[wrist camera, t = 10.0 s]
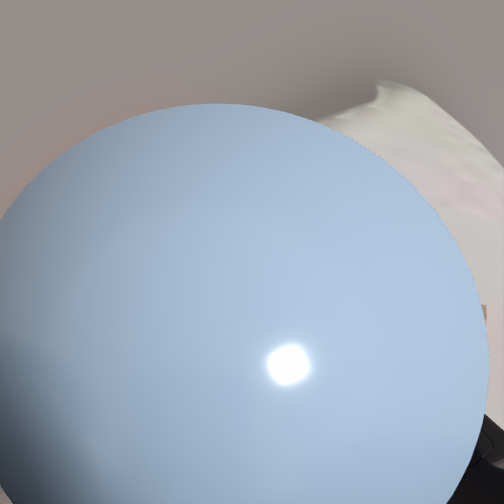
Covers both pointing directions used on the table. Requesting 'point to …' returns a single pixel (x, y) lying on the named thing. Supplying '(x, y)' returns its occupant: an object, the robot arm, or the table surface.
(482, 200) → the table surface
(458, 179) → the table surface
